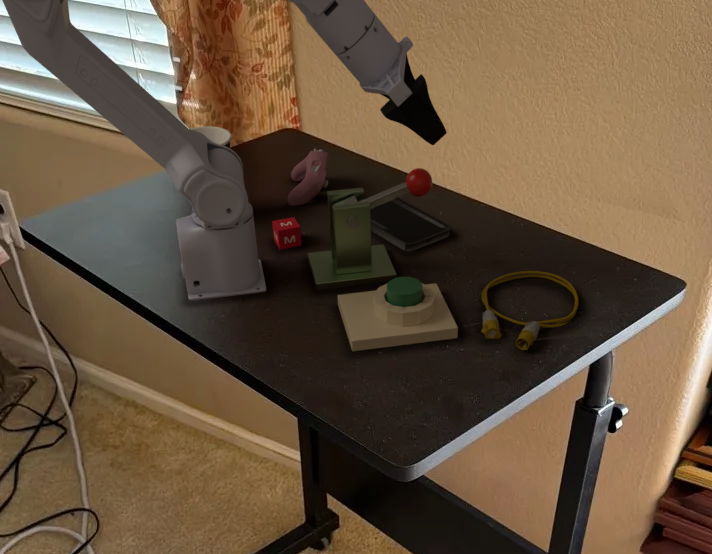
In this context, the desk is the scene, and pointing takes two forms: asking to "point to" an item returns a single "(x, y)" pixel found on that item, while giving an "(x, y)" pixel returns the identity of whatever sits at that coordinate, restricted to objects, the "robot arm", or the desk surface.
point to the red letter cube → (287, 233)
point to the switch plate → (395, 319)
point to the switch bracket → (350, 246)
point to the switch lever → (399, 189)
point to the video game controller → (309, 177)
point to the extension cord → (530, 328)
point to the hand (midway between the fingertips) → (431, 126)
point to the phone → (406, 225)
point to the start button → (404, 291)
